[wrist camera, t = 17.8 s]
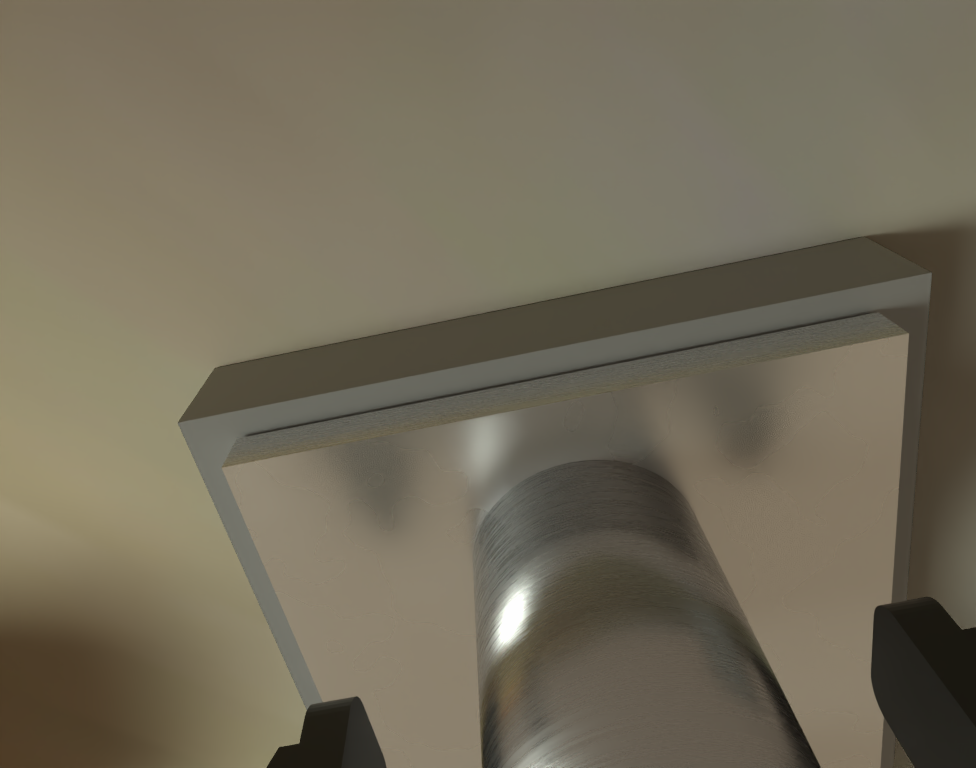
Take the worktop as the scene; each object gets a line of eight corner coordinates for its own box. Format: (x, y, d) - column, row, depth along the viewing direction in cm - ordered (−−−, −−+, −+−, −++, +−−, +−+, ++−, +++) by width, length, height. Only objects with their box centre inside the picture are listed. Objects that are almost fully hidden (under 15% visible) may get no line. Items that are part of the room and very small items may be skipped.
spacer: (496, 658, 15) (523, 1006, 10) (449, 486, 13) (450, 802, 8) (707, 619, 15) (850, 952, 10) (691, 438, 13) (860, 730, 8)
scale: (214, 368, 16) (166, 438, 13) (864, 236, 15) (952, 283, 13) (435, 908, 25) (432, 1014, 23) (844, 842, 25) (891, 943, 22)
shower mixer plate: (236, 438, 14) (220, 467, 13) (877, 311, 13) (909, 333, 12) (415, 870, 20) (412, 910, 19) (856, 797, 19) (876, 835, 19)
